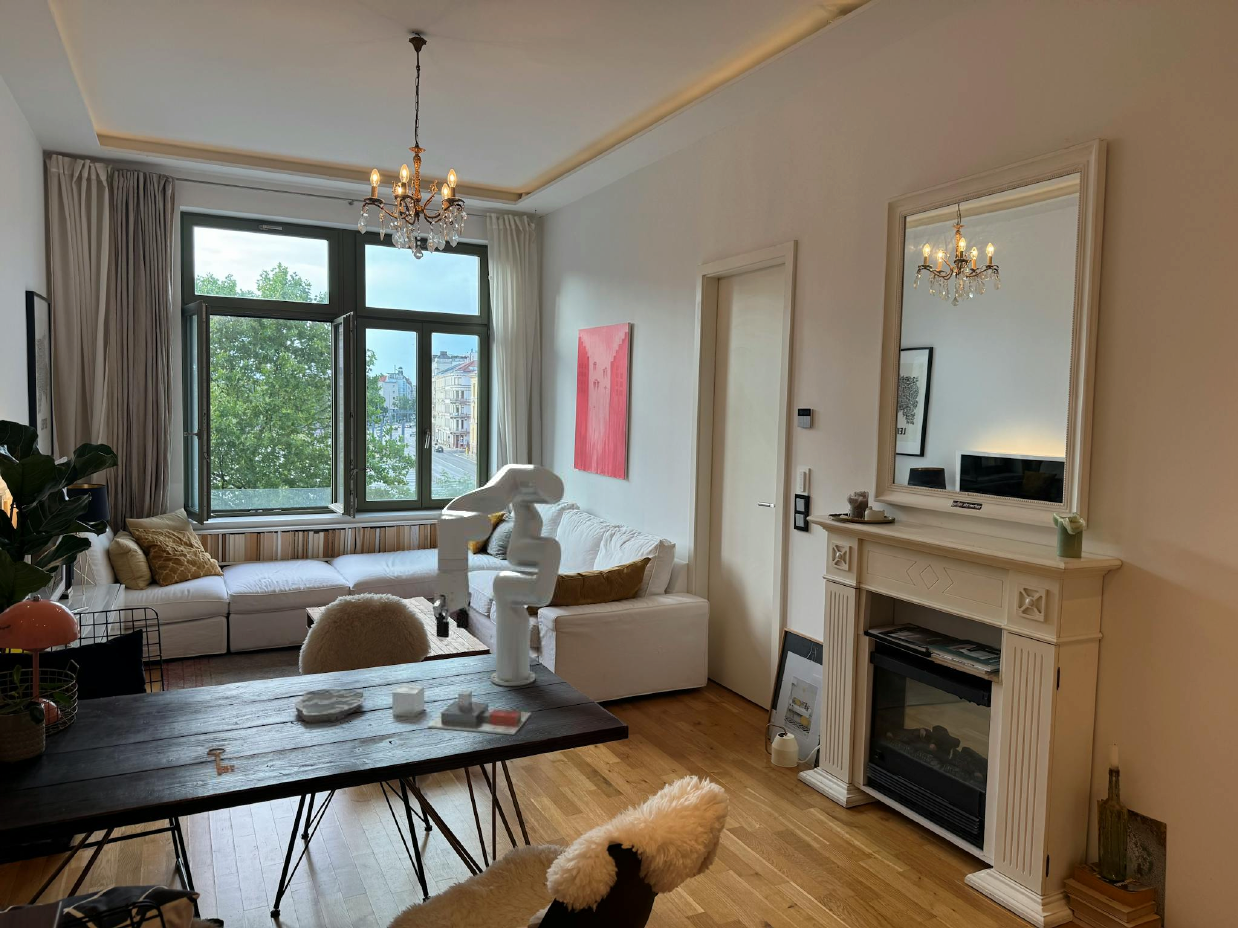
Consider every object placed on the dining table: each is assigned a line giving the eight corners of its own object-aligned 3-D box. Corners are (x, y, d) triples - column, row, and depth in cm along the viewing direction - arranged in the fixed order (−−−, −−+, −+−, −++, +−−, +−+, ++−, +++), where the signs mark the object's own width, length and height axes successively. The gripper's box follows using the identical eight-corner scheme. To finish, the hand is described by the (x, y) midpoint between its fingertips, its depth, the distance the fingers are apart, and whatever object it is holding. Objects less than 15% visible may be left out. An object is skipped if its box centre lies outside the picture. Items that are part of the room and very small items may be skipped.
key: (239, 774, 186) (234, 749, 200) (239, 770, 186) (234, 745, 199) (209, 777, 184) (206, 751, 197) (209, 773, 184) (206, 747, 197)
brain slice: (368, 720, 218) (368, 708, 217) (296, 729, 211) (296, 717, 211) (361, 695, 236) (361, 684, 236) (294, 703, 230) (294, 692, 229)
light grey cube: (402, 707, 226) (402, 684, 226) (424, 708, 225) (424, 686, 225) (392, 715, 220) (392, 692, 220) (414, 717, 219) (414, 693, 219)
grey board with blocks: (449, 707, 226) (449, 681, 226) (530, 714, 222) (530, 687, 222) (427, 727, 212) (427, 699, 212) (514, 734, 208) (514, 706, 208)
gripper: (457, 558, 226) (456, 623, 227) (421, 569, 210) (421, 639, 211) (482, 560, 224) (482, 626, 225) (448, 571, 207) (448, 642, 208)
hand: (452, 632), depth 218 cm, fingers open, 9 cm apart
